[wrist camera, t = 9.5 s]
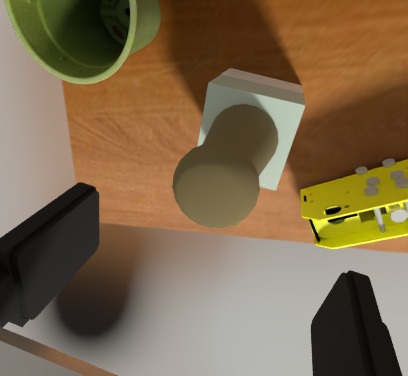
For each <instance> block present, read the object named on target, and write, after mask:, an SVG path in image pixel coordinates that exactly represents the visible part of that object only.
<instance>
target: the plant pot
mask: <svg viewBox="0 0 408 376" xmlns="http://www.w3.org/2000/svg"><path fill="white" fill-rule="evenodd" d="M4 4H5V7H6V11H7V14H8V17H9V20H10V22H11V24H12V27H13V29H14V31H15V33H16V35H17V36H18V38H19V40H20V42H21V43H22V45H23V46H24V48H25V49H26V50H27V51H28V53H29V54H30V55H31V56H32V57H33V59H34V60H35V61H36V62H37V63H38V64H40V65H41V66H42V67H43V68H44V69H45V70H47V71H48V72H50V73H51V74H53V75H54V76H56V77H58V78H60V79H62V80H65V81H68V82H71V83H77V84H92V83H96V82H100V81H102V80H104V79H106V78H108V77H110V76H111V75H112V74H114V73H115V72H116V71H117V70H118V69H119V68H120V67H121V65H122V64H123V63H124V61H125V60H126V58H127V56H129V55H130V54H132V53H134V52H136V51H137V50H139V49H141V48H143V47H144V46H146V45H147V44H149V43H150V42H151V41H152V40H153V39H154V37H155V36H156V34H157V32H158V30H159V26H160V22H161V11H160V4H159V0H111V2H110V1H109V0H4ZM127 8H130V16H128V15H127V14H126V10H127ZM107 19H109V20H107ZM114 26H115V27H116V28H117V29H118V30H119V31H120V33H121V34H123V35H124V36H123V38H121V37H120V36H118V35H117V33H116V32H115V31H114V30H113V27H114Z"/></svg>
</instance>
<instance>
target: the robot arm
mask: <svg viewBox="0 0 408 376" xmlns="http://www.w3.org/2000/svg"><path fill="white" fill-rule="evenodd" d="M98 246H99V193H98V192H97V191H96V188H95V187H94V186H91V185H88V184H85V183H82V182H79V183H77V184H76V185H75V186H73V187H72V188H70V189H69V190H67V191H66V192H65V193H63V194H62V195H60V196H59V197H58V198H56V199H55V200H53V201H52V202H51V203H49V204H48V205H47V206H45V207H44V208H42V209H41V210H39V211H38V212H36V213H35V214H34V215H32V216H31V217H29V218H28V219H27V220H25V221H24V222H22V223H21V224H20V225H18V226H17V227H15V228H14V229H12V230H11V231H10V232H8V233H7V234H5V235H4V236H3V237H1V238H0V376H117V375H115V374H112V373H110V372H108V371H105V370H103V369H101V368H98V367H96V366H94V365H91V364H89V363H86V362H84V361H82V360H79V359H77V358H74V357H72V356H70V355H67V354H65V353H62V352H60V351H58V350H55V349H53V348H50V347H48V346H45V345H43V344H41V343H38V342H36V341H34V340H31V339H28V338H26V337H24V336H21V335H19V334H16V333H13V332H11V331H8V330H6V329H3V328H2V327H4V326H5V325H6V324H7V323H8V322H11V323H13V324H16V325H18V326H21V327H23V326H24V325H25V324H26V323H27V322H28V321H29V319H31V320H32V319H34V318H36V317H37V316H38V315H39V314H40V313H41V311H42V310H43V309H44V308H45V307H46V306H47V305H48V304H49V303H50V301H51V300H52V299H53V298H54V297H55V296H56V295H57V294H58V293H59V291H60V290H61V289H62V288H63V287H64V286H65V285H66V284H67V283H68V281H69V280H70V279H71V278H72V277H73V276H74V275H75V274H76V273H77V271H78V270H79V269H80V268H81V267H82V266H83V265H84V264H85V263H86V261H87V260H88V259H89V258H90V257H91V256H92V255H93V254H94V253H95V251H96V250H97V248H98ZM311 344H312V365H313V376H402V373H401V370H400V367H399V363H398V360H397V357H396V353H395V350H394V347H393V343H392V340H391V337H390V334H389V330H388V328H387V326H386V325H385V324H384V323H383V322H382V319H381V316H380V313H379V310H378V306H377V302H376V299H375V295H374V292H373V288H372V285H371V282H370V279H369V277H368V276H366V275H363V274H360V273H357V272H354V271H348V272H347V273H342V274H341V275H340V276H339V278H338V279H337V281H336V283H335V284H334V286H333V288H332V289H331V291H330V293H329V294H328V296H327V297H326V299H325V301H324V302H323V304H322V305H321V307H320V308H319V310H318V312H317V313H316V315H315V317H314V318H313V320H312V324H311Z"/></svg>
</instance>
